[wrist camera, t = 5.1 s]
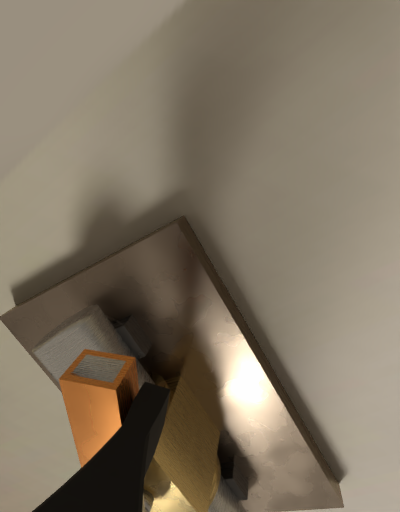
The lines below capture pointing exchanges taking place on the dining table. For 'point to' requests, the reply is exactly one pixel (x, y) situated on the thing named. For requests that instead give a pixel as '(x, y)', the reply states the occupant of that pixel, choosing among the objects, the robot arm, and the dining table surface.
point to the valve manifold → (185, 376)
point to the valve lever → (98, 398)
